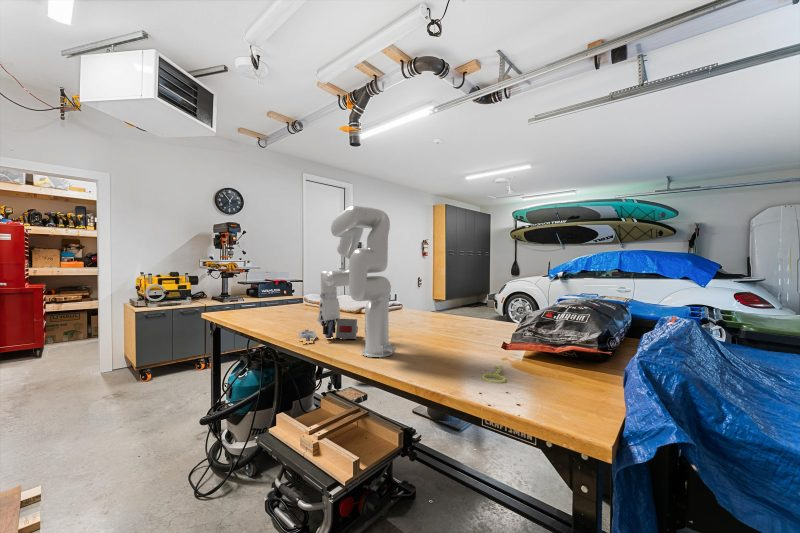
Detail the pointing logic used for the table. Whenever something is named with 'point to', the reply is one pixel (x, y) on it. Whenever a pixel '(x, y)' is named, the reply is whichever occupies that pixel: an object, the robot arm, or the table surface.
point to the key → (495, 376)
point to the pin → (330, 329)
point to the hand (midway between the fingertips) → (329, 333)
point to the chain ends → (307, 335)
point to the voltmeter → (346, 328)
